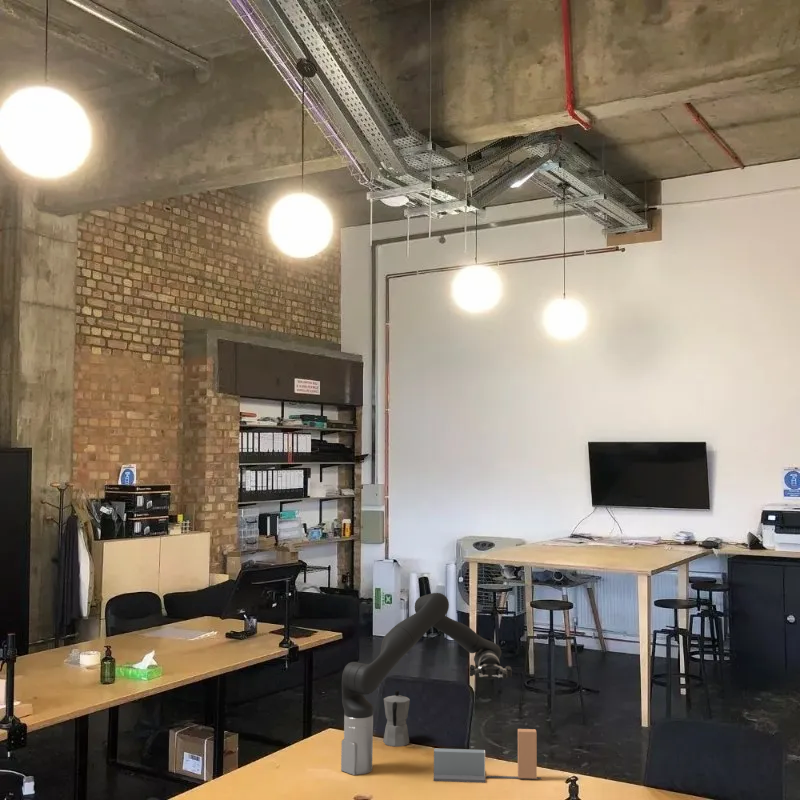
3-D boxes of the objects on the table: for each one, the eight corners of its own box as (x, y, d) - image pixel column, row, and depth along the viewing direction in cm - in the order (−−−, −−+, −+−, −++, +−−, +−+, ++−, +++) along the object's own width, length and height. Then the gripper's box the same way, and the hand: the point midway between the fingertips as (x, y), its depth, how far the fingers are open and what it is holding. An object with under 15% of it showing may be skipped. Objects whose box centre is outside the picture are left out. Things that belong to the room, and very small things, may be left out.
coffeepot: (385, 736, 309) (385, 685, 311) (411, 737, 308) (411, 686, 310) (380, 750, 294) (380, 696, 295) (407, 751, 293) (408, 697, 294)
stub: (518, 777, 267) (518, 731, 268) (517, 774, 270) (517, 728, 271) (536, 778, 266) (536, 732, 267) (535, 775, 269) (535, 729, 270)
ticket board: (433, 781, 265) (433, 755, 265) (434, 769, 275) (434, 744, 275) (542, 784, 263) (542, 758, 263) (539, 773, 273) (539, 748, 273)
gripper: (469, 653, 302) (469, 663, 286) (509, 655, 301) (512, 665, 285) (468, 675, 301) (469, 686, 285) (509, 676, 300) (512, 688, 284)
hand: (491, 675), depth 285 cm, fingers open, 8 cm apart
